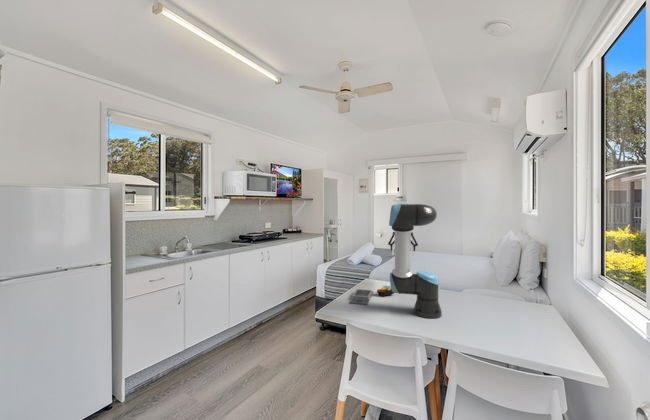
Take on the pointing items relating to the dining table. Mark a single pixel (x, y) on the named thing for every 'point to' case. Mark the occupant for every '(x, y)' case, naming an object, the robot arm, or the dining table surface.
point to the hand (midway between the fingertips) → (402, 255)
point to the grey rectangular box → (361, 297)
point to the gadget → (385, 291)
